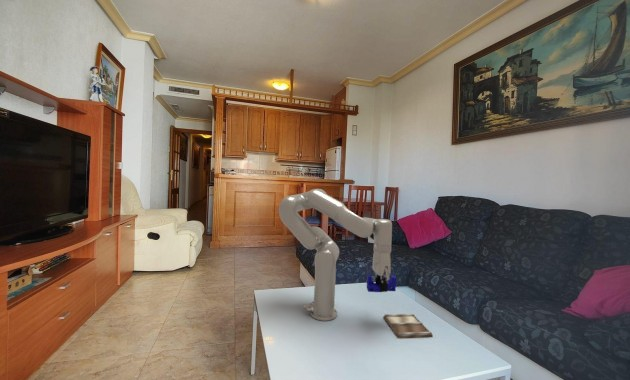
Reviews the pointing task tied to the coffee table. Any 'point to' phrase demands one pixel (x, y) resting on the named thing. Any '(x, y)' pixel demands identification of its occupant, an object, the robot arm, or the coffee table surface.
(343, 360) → the coffee table surface
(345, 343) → the coffee table surface
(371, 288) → the cable clip
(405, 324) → the organizer board
